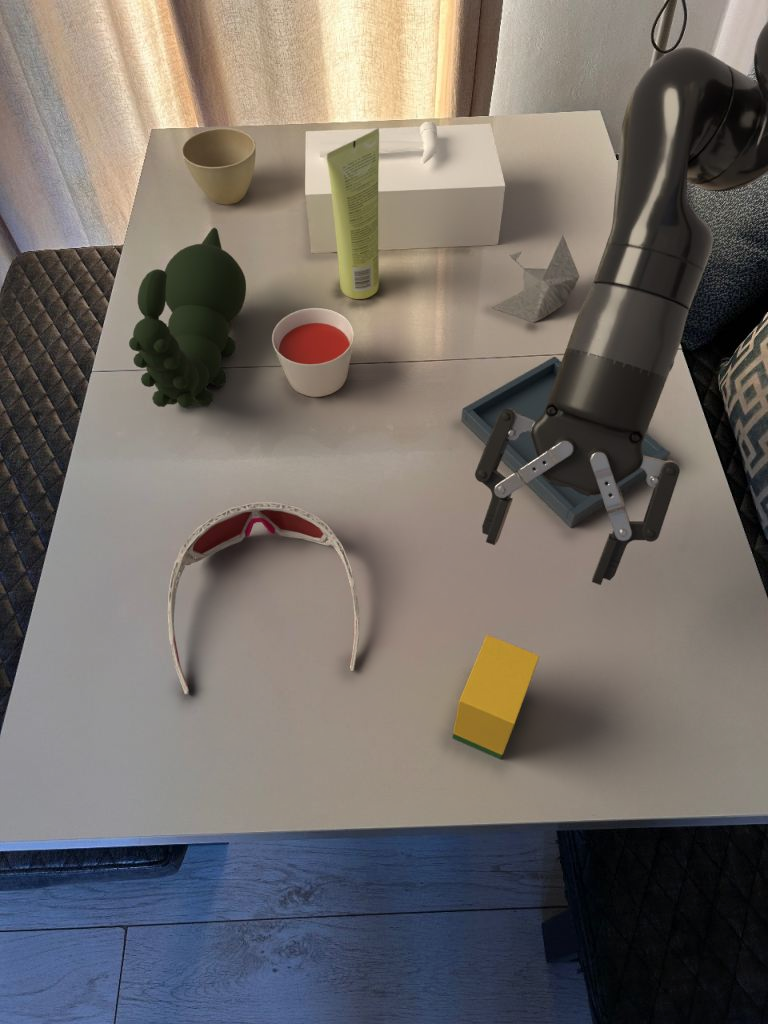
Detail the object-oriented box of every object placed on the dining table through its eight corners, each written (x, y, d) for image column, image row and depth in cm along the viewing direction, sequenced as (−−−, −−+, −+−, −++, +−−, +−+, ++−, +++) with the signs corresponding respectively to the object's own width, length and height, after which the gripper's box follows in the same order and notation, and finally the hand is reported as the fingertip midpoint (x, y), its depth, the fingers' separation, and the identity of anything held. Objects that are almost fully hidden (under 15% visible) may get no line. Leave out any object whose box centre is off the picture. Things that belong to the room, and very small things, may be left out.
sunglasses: (345, 512, 78) (343, 491, 73) (367, 676, 71) (366, 664, 67) (174, 533, 77) (161, 513, 72) (180, 703, 70) (166, 692, 65)
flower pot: (258, 215, 107) (250, 167, 101) (187, 215, 107) (175, 167, 101) (266, 174, 112) (259, 126, 107) (199, 174, 113) (188, 126, 107)
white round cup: (316, 417, 86) (311, 377, 80) (263, 377, 89) (255, 337, 84) (372, 375, 89) (370, 334, 84) (319, 338, 93) (314, 297, 88)
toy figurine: (227, 443, 86) (264, 282, 98) (185, 326, 69) (236, 149, 81) (146, 438, 86) (192, 278, 99) (85, 320, 70) (150, 145, 82)
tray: (664, 465, 81) (670, 453, 80) (570, 528, 77) (574, 516, 75) (551, 369, 89) (554, 356, 88) (460, 421, 85) (462, 408, 83)
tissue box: (497, 244, 103) (507, 168, 93) (311, 253, 102) (303, 177, 93) (484, 182, 111) (492, 106, 102) (311, 189, 110) (304, 114, 101)
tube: (343, 271, 100) (333, 124, 84) (382, 273, 100) (379, 126, 83) (337, 300, 97) (326, 153, 81) (377, 302, 96) (374, 155, 80)
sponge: (524, 697, 67) (539, 655, 60) (500, 759, 64) (514, 724, 57) (476, 677, 68) (486, 634, 61) (452, 738, 65) (459, 700, 58)
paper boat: (524, 335, 91) (471, 283, 93) (528, 347, 97) (478, 298, 99) (600, 259, 89) (544, 208, 91) (598, 276, 95) (546, 228, 97)
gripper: (517, 327, 54) (447, 538, 58) (722, 387, 51) (633, 608, 54) (530, 335, 61) (467, 523, 65) (710, 389, 58) (633, 584, 61)
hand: (543, 561), depth 60 cm, fingers open, 8 cm apart
